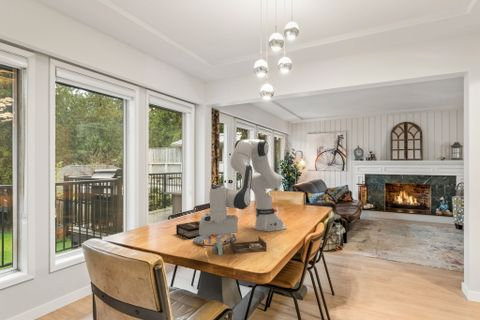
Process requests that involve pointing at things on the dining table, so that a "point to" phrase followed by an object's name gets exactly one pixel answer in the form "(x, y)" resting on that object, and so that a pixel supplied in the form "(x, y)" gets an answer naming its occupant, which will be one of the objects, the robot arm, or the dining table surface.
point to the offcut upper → (255, 245)
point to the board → (219, 245)
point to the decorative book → (188, 230)
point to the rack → (244, 246)
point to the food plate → (224, 236)
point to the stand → (216, 249)
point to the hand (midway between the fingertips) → (218, 242)
